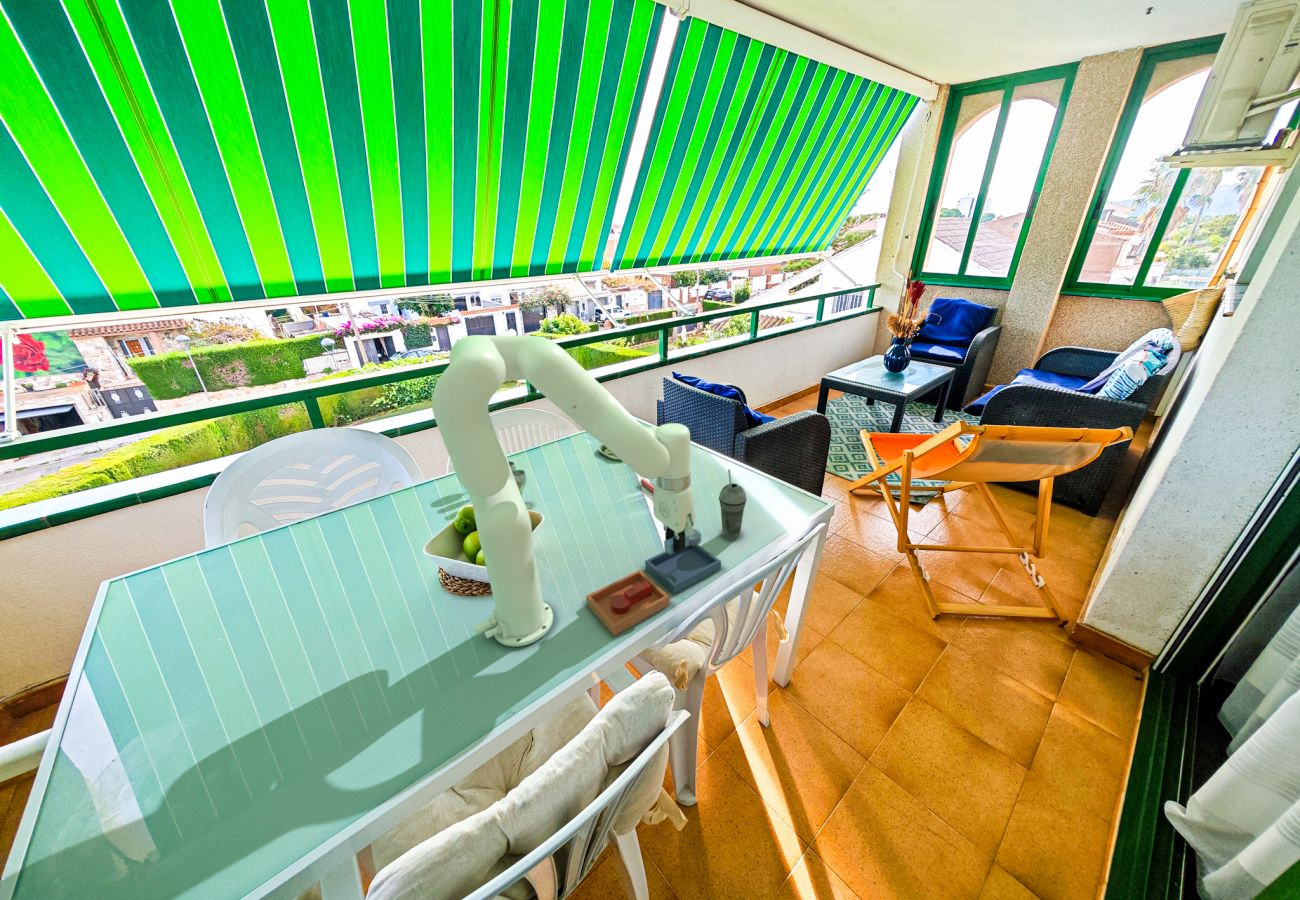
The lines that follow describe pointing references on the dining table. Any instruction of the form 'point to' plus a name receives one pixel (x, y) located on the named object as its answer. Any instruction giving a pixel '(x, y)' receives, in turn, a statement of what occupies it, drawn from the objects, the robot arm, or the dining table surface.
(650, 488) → the red bar
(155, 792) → the dining table surface
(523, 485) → the goblet set
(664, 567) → the slate tray
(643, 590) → the red spoon
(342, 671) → the dining table surface
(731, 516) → the beverage cup
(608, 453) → the salad plate
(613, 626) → the terracotta tray
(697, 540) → the blue-grey rounded block
